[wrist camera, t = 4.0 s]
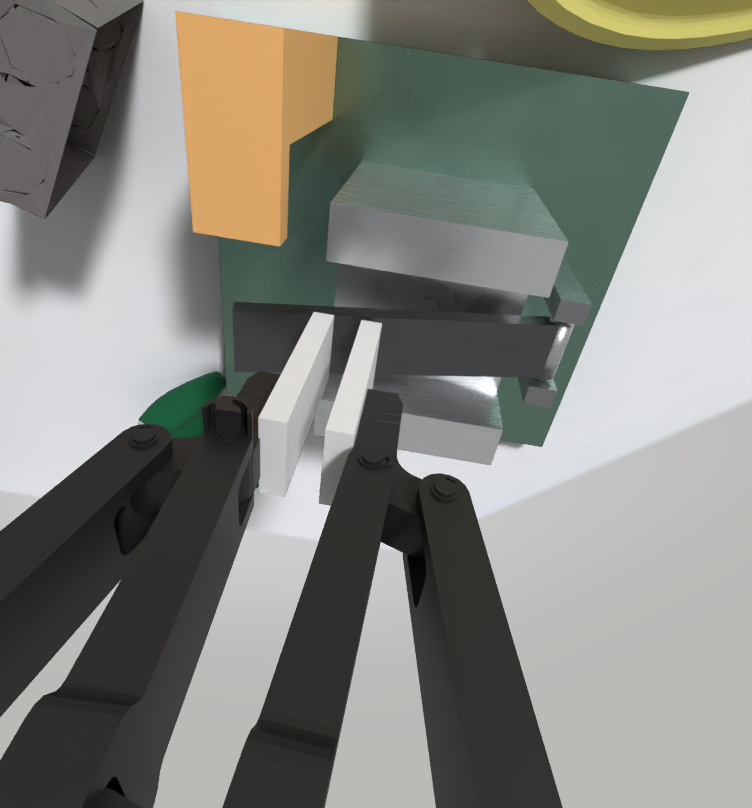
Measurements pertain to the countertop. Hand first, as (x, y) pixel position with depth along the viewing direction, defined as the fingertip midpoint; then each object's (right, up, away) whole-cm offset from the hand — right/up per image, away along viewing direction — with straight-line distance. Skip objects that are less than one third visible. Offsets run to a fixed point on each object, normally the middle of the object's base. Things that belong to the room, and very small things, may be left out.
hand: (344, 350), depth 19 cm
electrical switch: (-12, +14, +5) cm, 19 cm away
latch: (-2, +11, +4) cm, 12 cm away
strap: (+2, +1, +2) cm, 3 cm away
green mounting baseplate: (+3, +6, +9) cm, 11 cm away
